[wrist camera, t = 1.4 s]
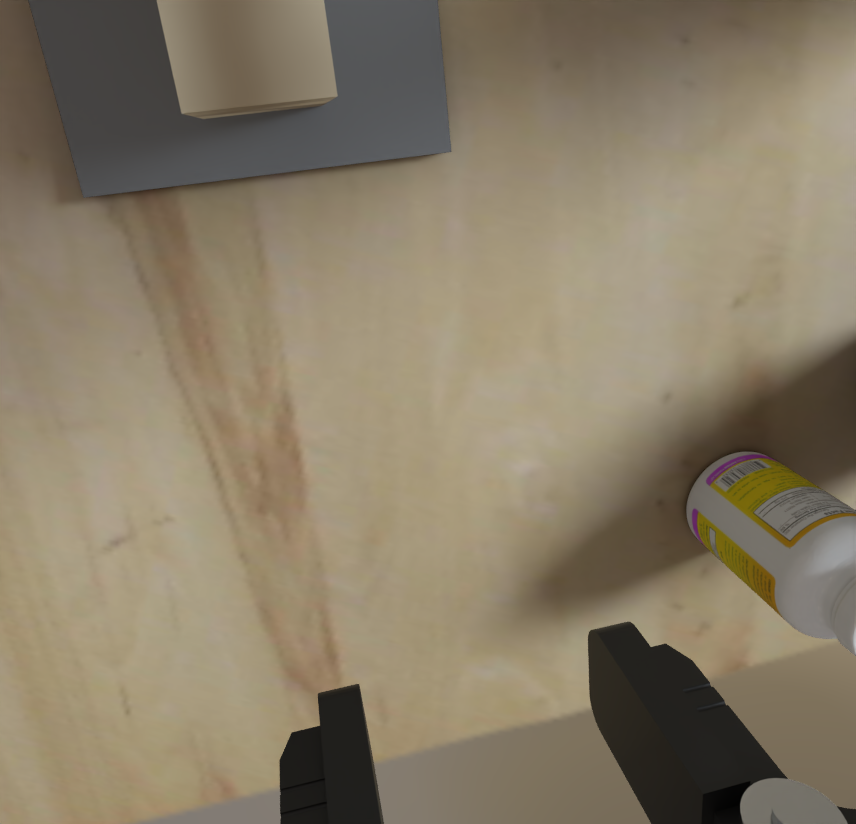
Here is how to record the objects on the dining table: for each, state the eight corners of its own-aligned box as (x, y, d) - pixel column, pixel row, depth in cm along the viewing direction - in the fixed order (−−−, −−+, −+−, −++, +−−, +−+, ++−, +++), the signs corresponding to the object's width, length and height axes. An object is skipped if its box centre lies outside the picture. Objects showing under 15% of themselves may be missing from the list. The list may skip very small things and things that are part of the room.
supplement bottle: (745, 553, 46) (907, 696, 34) (663, 528, 44) (805, 670, 32) (798, 463, 45) (988, 580, 33) (715, 433, 42) (885, 546, 31)
